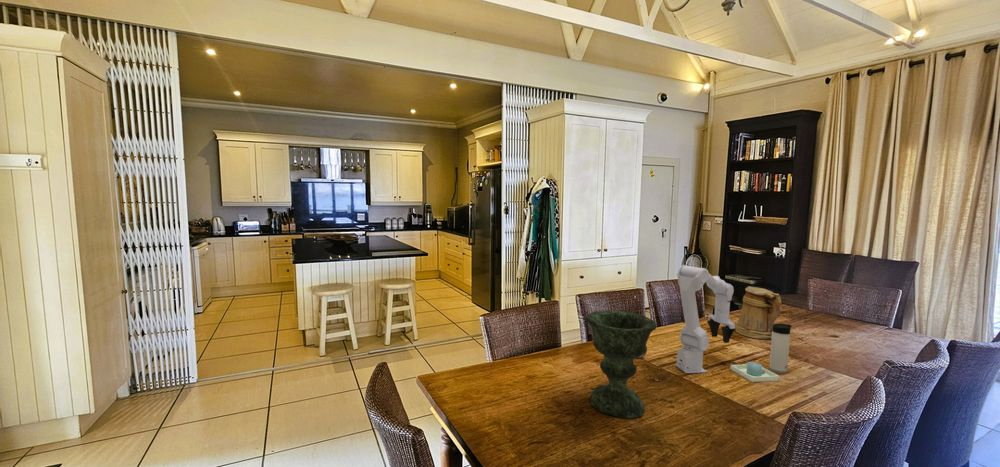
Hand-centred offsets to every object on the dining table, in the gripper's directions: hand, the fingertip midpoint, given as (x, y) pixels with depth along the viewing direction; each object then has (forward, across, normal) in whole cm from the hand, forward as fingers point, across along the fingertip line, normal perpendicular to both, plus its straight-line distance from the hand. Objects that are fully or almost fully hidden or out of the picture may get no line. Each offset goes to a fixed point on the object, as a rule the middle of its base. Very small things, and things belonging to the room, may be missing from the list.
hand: (720, 339), depth 180 cm
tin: (+10, +7, +39) cm, 41 cm away
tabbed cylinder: (+9, -16, -4) cm, 19 cm away
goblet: (+10, -33, +63) cm, 72 cm away
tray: (+9, -16, -4) cm, 19 cm away
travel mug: (+10, -13, -18) cm, 24 cm away
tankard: (+10, +29, -45) cm, 54 cm away
